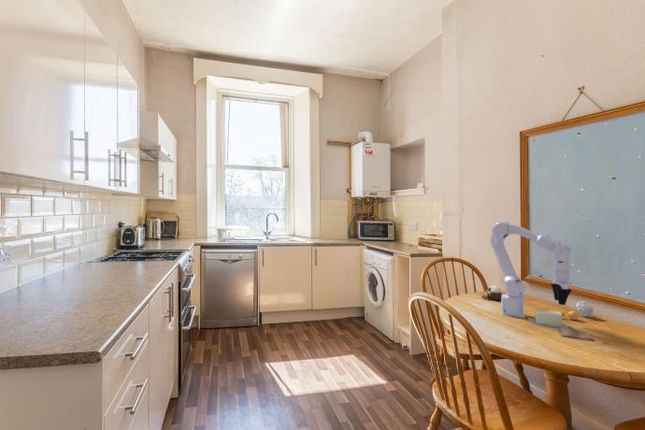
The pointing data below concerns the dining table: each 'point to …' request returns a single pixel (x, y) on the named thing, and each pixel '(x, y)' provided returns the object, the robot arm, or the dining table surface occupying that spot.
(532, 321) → the grey tile
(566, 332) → the walnut pad
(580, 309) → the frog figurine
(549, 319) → the sage block
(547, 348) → the dining table surface
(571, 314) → the figurine
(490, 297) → the skull
